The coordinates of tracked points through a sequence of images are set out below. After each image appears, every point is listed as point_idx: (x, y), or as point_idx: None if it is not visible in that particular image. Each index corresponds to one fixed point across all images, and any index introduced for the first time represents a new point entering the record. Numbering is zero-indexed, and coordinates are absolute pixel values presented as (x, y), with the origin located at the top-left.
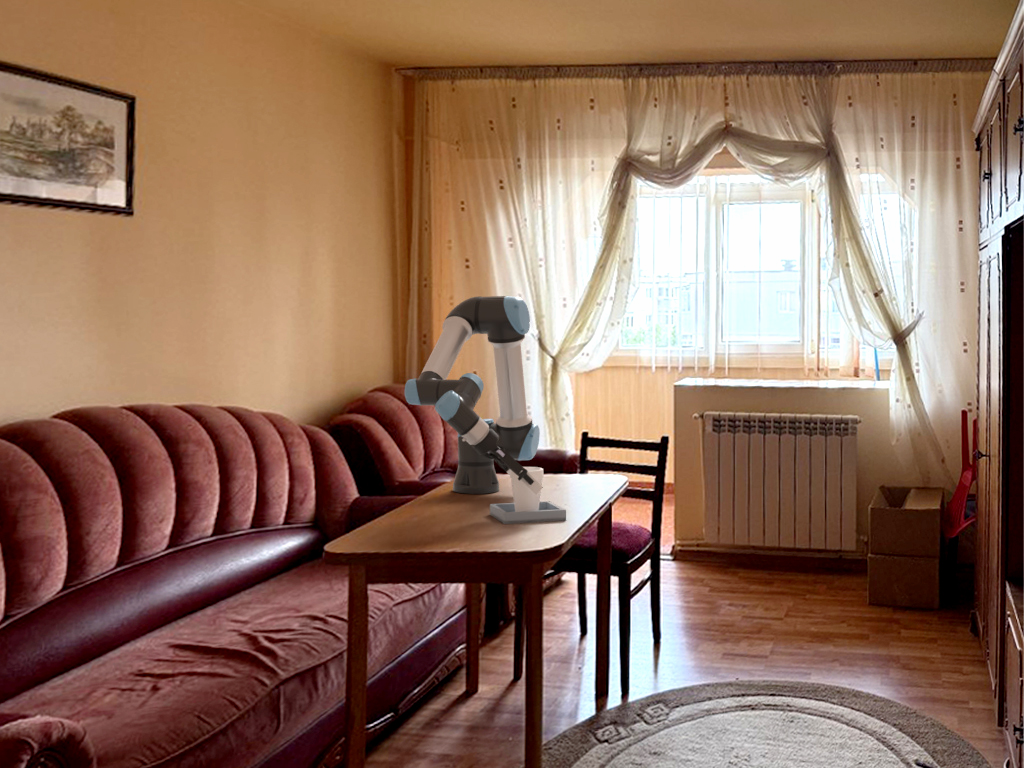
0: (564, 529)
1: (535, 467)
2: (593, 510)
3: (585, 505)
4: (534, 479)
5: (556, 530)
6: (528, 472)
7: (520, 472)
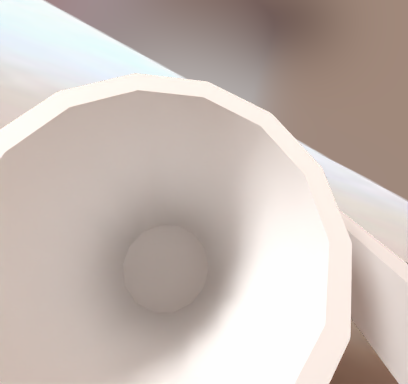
0: (384, 214)
1: (70, 105)
2: (126, 46)
3: (37, 32)
4: (382, 247)
5: (398, 241)
6: (343, 273)
7: (319, 372)
